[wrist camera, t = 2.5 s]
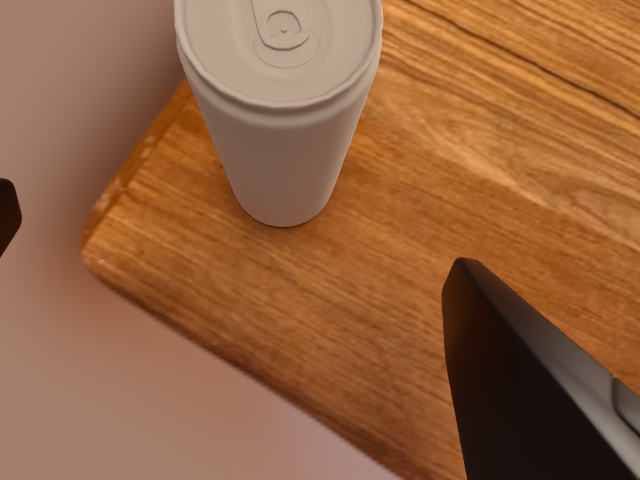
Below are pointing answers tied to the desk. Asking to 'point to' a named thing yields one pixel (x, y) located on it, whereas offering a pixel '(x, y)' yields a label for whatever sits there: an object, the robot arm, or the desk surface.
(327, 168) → the beverage can
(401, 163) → the desk surface
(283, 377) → the desk surface
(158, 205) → the desk surface
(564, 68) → the desk surface
